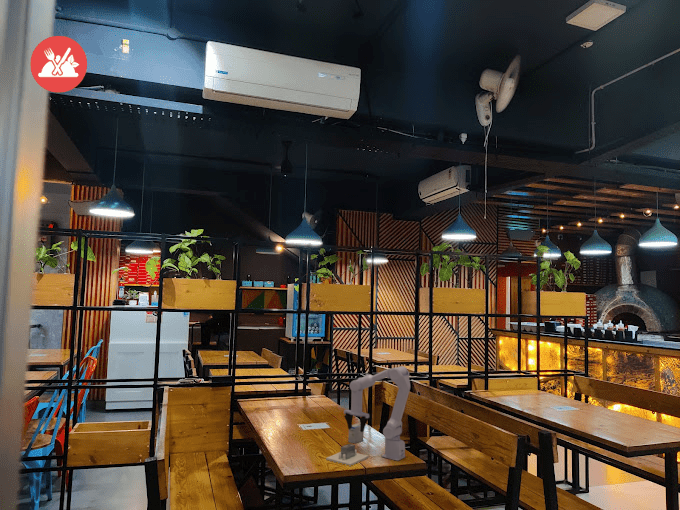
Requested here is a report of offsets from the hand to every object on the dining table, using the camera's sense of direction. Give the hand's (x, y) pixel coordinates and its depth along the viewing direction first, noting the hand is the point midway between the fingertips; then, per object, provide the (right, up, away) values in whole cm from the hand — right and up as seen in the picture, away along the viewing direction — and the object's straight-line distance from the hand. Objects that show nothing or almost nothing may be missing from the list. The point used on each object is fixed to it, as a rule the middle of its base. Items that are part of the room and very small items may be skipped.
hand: (356, 430), depth 259 cm
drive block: (-5, -7, -17) cm, 19 cm away
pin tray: (-5, -8, -17) cm, 20 cm away
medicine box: (0, -11, +12) cm, 16 cm away
